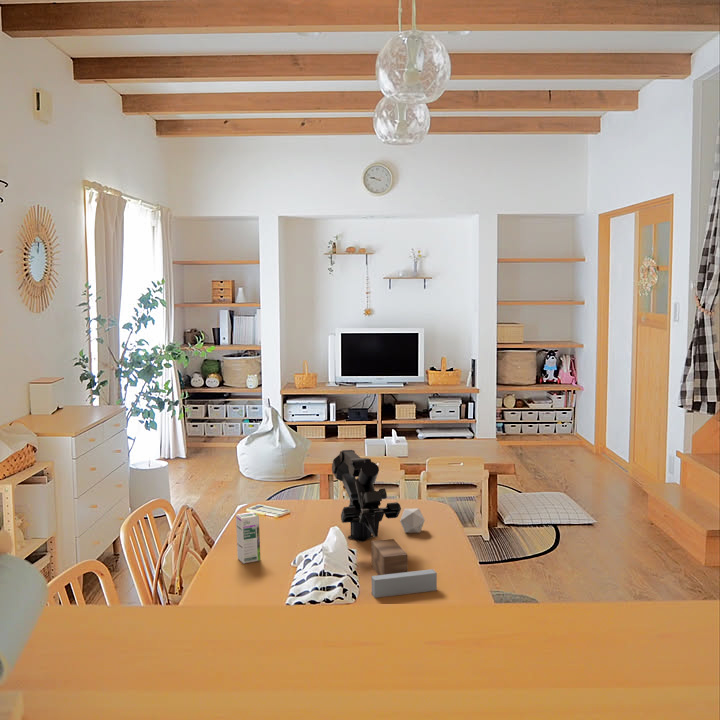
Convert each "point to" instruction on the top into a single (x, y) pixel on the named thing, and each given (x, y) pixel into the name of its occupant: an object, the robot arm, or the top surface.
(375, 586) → the board
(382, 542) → the walnut block
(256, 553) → the syrup box
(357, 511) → the robot arm
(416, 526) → the die
